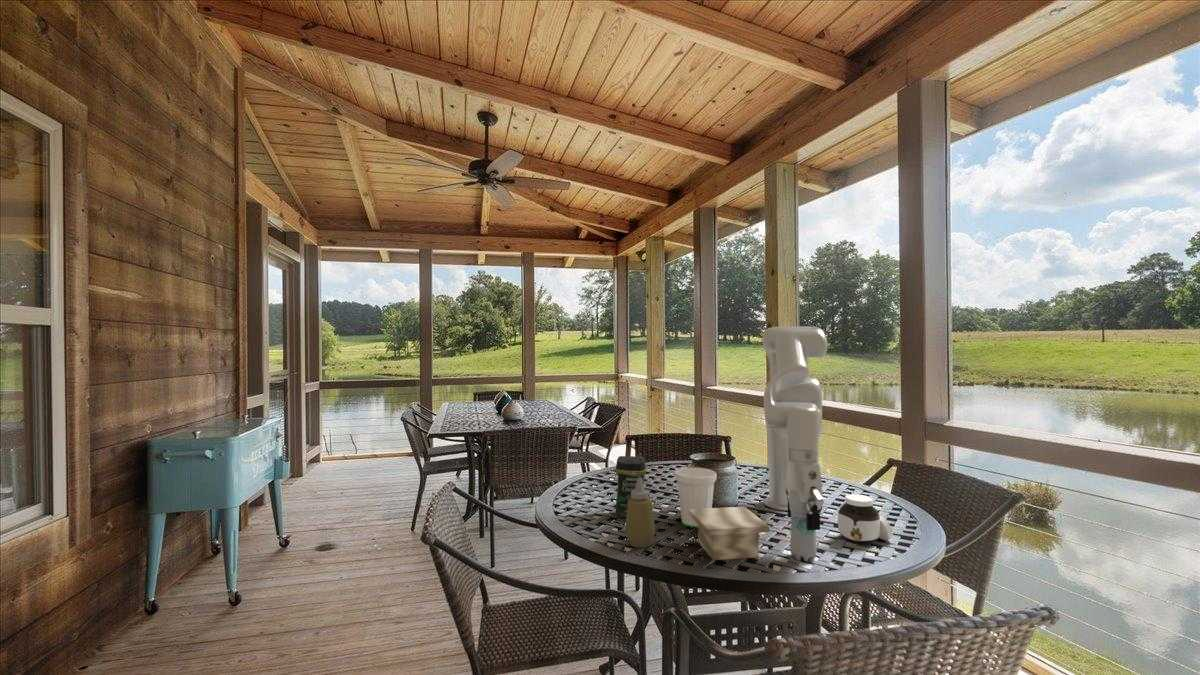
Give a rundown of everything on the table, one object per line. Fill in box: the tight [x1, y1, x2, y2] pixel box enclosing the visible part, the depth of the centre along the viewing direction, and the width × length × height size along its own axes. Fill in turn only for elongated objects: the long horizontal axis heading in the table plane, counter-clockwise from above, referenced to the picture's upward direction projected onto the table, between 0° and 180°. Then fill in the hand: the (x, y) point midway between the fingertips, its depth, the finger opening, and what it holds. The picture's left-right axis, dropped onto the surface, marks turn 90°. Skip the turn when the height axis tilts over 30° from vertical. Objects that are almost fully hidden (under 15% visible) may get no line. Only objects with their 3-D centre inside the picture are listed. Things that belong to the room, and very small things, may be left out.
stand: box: [689, 506, 770, 561], centre depth 143 cm, size 16×16×8 cm
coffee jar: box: [615, 455, 647, 519], centre depth 172 cm, size 10×8×19 cm
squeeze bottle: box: [624, 478, 656, 549], centre depth 148 cm, size 8×8×18 cm
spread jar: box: [837, 494, 894, 546], centre depth 150 cm, size 12×11×12 cm
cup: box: [674, 467, 718, 529], centre depth 164 cm, size 12×12×15 cm
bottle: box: [789, 491, 818, 562], centre depth 138 cm, size 7×7×20 cm
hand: (803, 523), depth 137 cm, fingers open, 9 cm apart
